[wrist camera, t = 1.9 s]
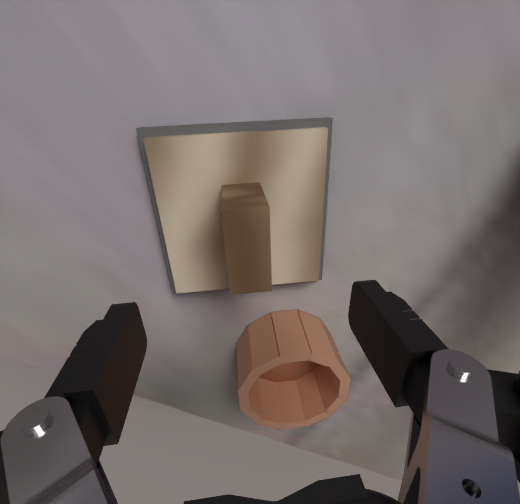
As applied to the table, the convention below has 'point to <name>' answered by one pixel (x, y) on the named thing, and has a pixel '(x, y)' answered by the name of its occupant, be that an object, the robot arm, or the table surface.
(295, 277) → the lid
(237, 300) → the table surface
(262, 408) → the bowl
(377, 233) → the table surface
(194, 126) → the mat
